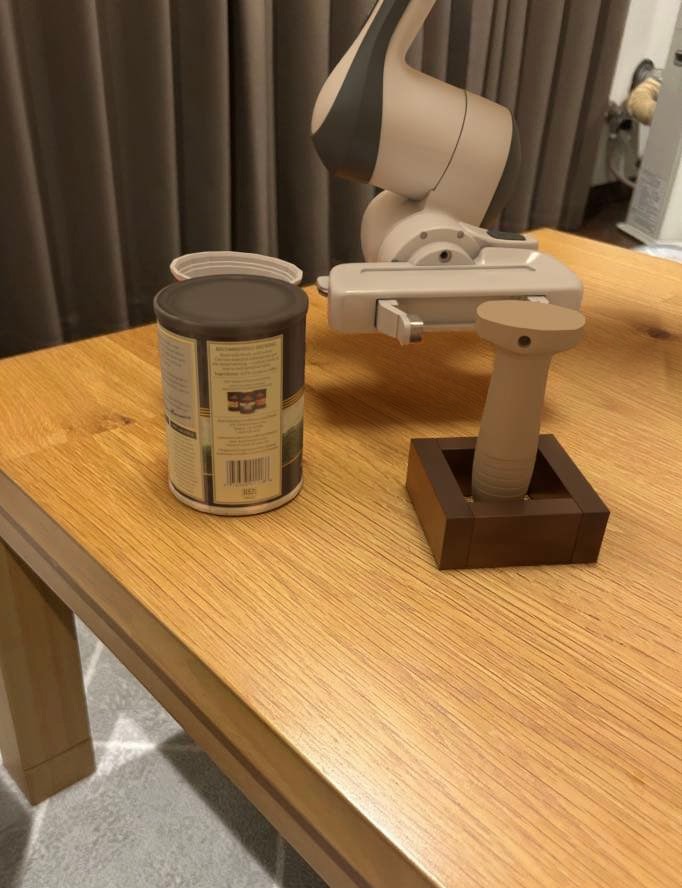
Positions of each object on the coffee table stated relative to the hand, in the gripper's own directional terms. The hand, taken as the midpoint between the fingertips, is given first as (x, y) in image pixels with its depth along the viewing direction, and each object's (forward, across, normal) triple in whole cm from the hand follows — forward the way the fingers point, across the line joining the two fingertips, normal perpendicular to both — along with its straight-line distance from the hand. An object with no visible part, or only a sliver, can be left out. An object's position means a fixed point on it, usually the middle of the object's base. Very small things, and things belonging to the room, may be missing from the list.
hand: (476, 333), depth 63 cm
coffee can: (+3, -18, +10) cm, 21 cm away
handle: (+10, 0, +10) cm, 14 cm away
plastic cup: (-11, -17, +10) cm, 23 cm away
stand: (+10, 0, +10) cm, 14 cm away
